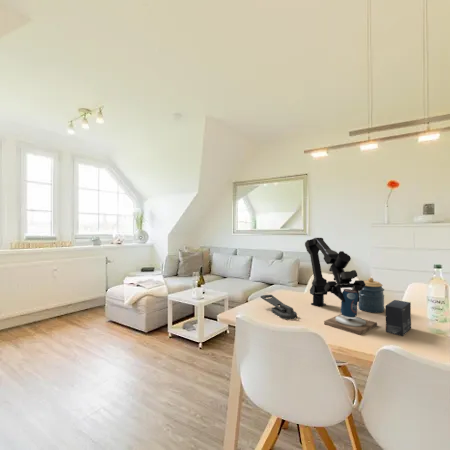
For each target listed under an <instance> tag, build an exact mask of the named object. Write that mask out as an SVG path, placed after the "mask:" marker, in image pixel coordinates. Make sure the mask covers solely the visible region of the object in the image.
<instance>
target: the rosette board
mask: <svg viewBox="0 0 450 450" xmlns="http://www.w3.org/2000/svg"><path fill="white" fill-rule="evenodd" d="M323 323H324V324H323V325H325V326H328V327H332V328H336V329H339V330H342V331H345V332H349V333H353V334H356V335H359V336H362V335H363V334H365V333H366V332H369V331H371V330H372V329H374V328H375V327H377V326H378V322H377V321H373V320H368V319H365V318H362V317H359V316H357V315H356V316H355V317H354V318H350V317H345V316H343V315H342V313H340V314H337V315H335V316H332V317H331V318H328V319H326V320H324V321H323Z"/></svg>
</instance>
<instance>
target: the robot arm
mask: <svg viewBox="0 0 450 450" xmlns="http://www.w3.org/2000/svg"><path fill="white" fill-rule="evenodd" d="M304 246H305V250H306V252H307V253H308V254H309V257H310V263H311V267H312V273H313V274H312V275H313V280H312V282H311V287H310V289H309V293H310V295H312V302H311V303H310V305H312V306H316V307H324V306H326V305H327V303H324V302H325V300H324V299H325V296H327V295H328V293H331V294H333V295H334V296H336V297H337V298H338V299H339V300H340V301H343V302H345V299H344V297H343V294H342V292H343V291H342V289H351V290H355V291H357V294H358V303H359V291H360V290H362V289H363V287H364V286H365V285H366V284H365V282H364V281H365V280H363V279H360V280H355V281H353V279H355V278H357V277H358V272H357V270H355V269H353V270H350V271H345V270H344V269H346V267H347V266H348V264H349V263H350V261H351V260H352V258H351V255H349V254H348V253H346V252H344V251H343V250H342V251H341V250H340V251H339V252H337V251H336V250H333V249H331V248H330V246H329V245H328V244H327V243H326V242H325V240H324V238H323V237H314V238H312V239H307V240H306V241H305V242H304ZM319 252H321V254H322V255H323V260H324V262H325V263H326V264H327V265H330V267H329V269H328V270H329V272H332V273H331V274H332V275H333V280H332V281H331V280H329V281H327V278H324V277H323V273H322V268H321V262H320V256H319ZM352 281H353V283H352Z"/></svg>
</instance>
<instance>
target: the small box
mask: <svg viewBox="0 0 450 450" xmlns="http://www.w3.org/2000/svg"><path fill="white" fill-rule="evenodd" d="M411 306H412V304H411V301H406V300H405V301H404V300H398V299H394V300H392V301H391V302H389V303H387V304H386V305H384V312H385V332H386V333H387V334H393V335H397V336H400V337H404V336H405V335H406V334H407V333H408V332H409V331H410V330H411V329H412V317H411V316H412V315H411V313H412V310H411V309H412V307H411Z"/></svg>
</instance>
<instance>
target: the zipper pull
mask: <svg viewBox="0 0 450 450" xmlns="http://www.w3.org/2000/svg"><path fill="white" fill-rule="evenodd" d="M260 298H261V299H262V300H264V301H265V302H267V303H269V304H270V305H272V306H274V307H272V308H271V314H273V315H276V316H277V317H278V316H279V318H280V319H283V320H294V319H297V318H298V314H297V312H296V311H294V308H293V307H291V306H290V305H287V304H285V303H283V302H282V301H281V300H279V299H278V298H276V297H275V296H274V295H273V294H264V295H260Z"/></svg>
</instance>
